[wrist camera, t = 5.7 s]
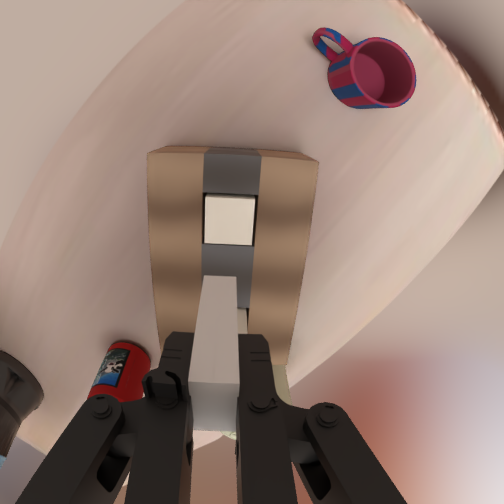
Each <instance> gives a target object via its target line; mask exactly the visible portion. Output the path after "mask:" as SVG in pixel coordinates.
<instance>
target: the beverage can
mask: <svg viewBox="0 0 504 504" xmlns="http://www.w3.org/2000/svg"><path fill="white" fill-rule="evenodd" d="M150 365H151V364H150V360H149V357H148V356H147V354H146V353H145V352H144V351H143V350H141V349H140V348H138V347H137V346H135V345H132V344H129V343H123V342H121V343H115V344H113V345H112V346H111V347H110V348H109V349H108V352H107V354H106V356H105V358H104V360H103V362H102V364H101V367H100V369H99V371H98V373H97V376H96V378H95V380H94V383H93V385H92V388H91V390H90V393H89V395H88V398H90V397H92V396H94V395H96V394H108V395H112V396H113V397H115V398H117V399H118V401H119V402H127V401H134V400H138V399H141V398H142V396H143V393H144V390H143V386H142V382H141V381H142V379H143V377H144V375H145V374H147V373H148V372H149V370H150ZM88 398H87V399H88Z"/></svg>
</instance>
